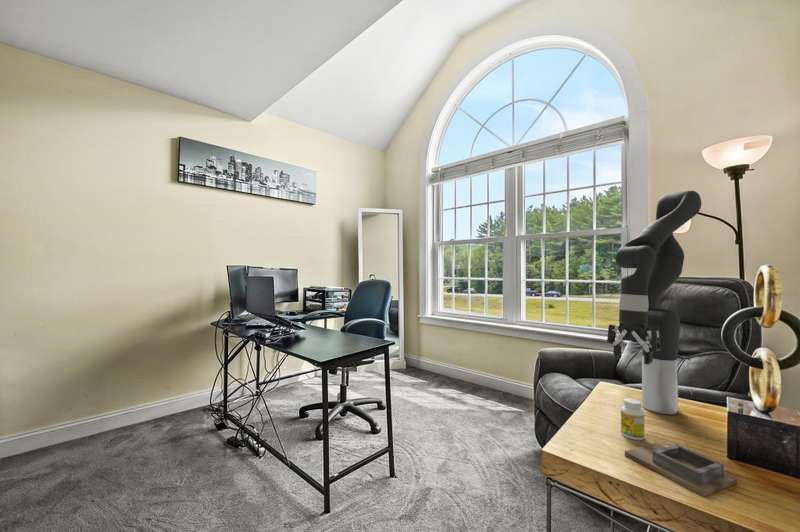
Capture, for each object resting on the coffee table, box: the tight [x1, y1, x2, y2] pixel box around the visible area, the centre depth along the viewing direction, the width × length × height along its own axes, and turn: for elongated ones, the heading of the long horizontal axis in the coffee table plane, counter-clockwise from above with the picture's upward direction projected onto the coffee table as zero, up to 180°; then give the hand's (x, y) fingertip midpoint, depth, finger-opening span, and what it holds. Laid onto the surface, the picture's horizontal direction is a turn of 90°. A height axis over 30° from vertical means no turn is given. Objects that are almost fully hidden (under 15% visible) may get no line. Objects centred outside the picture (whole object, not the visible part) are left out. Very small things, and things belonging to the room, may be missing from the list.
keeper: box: [624, 442, 738, 498], centre depth 76 cm, size 12×16×4 cm
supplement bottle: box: [620, 397, 646, 441], centre depth 92 cm, size 5×5×10 cm
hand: (632, 360), depth 104 cm, fingers open, 8 cm apart
